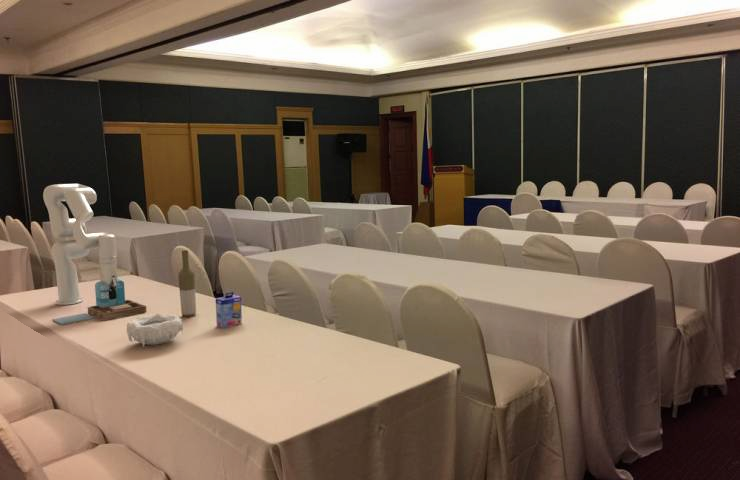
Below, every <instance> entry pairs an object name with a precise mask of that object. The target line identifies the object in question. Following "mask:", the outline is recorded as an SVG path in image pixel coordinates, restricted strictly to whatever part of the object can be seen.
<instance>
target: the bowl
mask: <svg viewBox="0 0 740 480" xmlns="http://www.w3.org/2000/svg"><path fill="white" fill-rule="evenodd" d="M183 330H184V325H183V319H182V318H179V317H178V315H174V314H173V313H170V314H162V313H156V314H152V315H149V316H141V317H140V316H137V317H136V318H134V319H132V320H131V321H129V322H128V323H127V324H126V333H127V337H128V340H129V342H131V343H133V340H134V341H135V342H138V343H139V344H141V345H142V347H143V348H145V345H149V346H150V345H152V346H155V345H158V346H159V345H161V344H165V343H168V342H170V341H172V340H173V339H174V338H175V337H177V335H178V334H179V333H180V332H183Z"/></svg>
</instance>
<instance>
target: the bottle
mask: <svg viewBox="0 0 740 480" xmlns="http://www.w3.org/2000/svg"><path fill="white" fill-rule="evenodd" d="M181 258H182V268H181V269H180V270H179V272H178V273H177V274H178V275H177V276H178V278H177V279H178V287H179V298H180V310H181V316H182V317H185V318H190V316H191V317H195V316H196V314H197V302H196V300H197V298H196V281H195V280H196V278H195V276H196V275H195V271H194V270H193V269H192V268H190V265H189V250H187V249H185V250H181Z"/></svg>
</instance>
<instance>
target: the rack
mask: <svg viewBox="0 0 740 480" xmlns="http://www.w3.org/2000/svg"><path fill="white" fill-rule="evenodd" d="M125 304H128V305H130V306H132V308H130V309H125V310H120V311H114V312H109V313H106V312H107V311H110V308H109V307H105V308H100V307H98V306H97V305H96V304H95V305H92V306H87V314H88V315H90V316H92V317H94V318H97V319H100V320H101V321H108V320H112V319H113V320H114V319H119V318H123V317H128V316H134V315H138V314H143V313H147V312H148V311H147V305H146V304H142V303H139V302H138V301H133V300H132V299H125V303H124V304H121V305H125ZM116 306H120V305H116ZM110 307H114V306H110Z"/></svg>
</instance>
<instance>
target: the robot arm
mask: <svg viewBox="0 0 740 480" xmlns="http://www.w3.org/2000/svg"><path fill="white" fill-rule="evenodd" d="M42 195H43V196H42V198H43V201H44V204H45V206H46V208H47V211H48V215H49V216H48V217H49V222H50V227H51V232H52V235H53V237H54V238H56V239H66V238H68V240H62V241H57V242H55V243H54V244H53V245H52V247H51V254H52V258H53V261H54V267H55V275H56V284H57V295H58V296H57V297H58V299H57V300H56V301H55V304H56V305H57V306H68V305H75V304H80V303H82V302H83V301H84V298H83V297H80V289H79V277H78V269H77V265H76V264H75V262H74V261H73V259H78V258H84V257H86V256H88V255H89V253H90V251H91V250H95V249H98V258H99V282H101V281H102V282H104V283H105V285H107V286H108V285H109V299H110V300H111V299H116V287H117V283H118V269H117V264H118V257H117V242H116V235H114V234H112V233H107V232H104V231H102V232H99V231H98V232H92V233H88V230H87V226H86V224H85V223H87V222H88V221H90V220H92V218H93V217H94V212H93V211H94V210H92V208H91V206H90V205H93V204H95V203H96V202H97V200H98V199H97V197H98V196H97V193H96V191H95V190H94V188H91V187H90V186H87V185H83V184H81V183H58V184H51V185H48V186H46V187H45V188H44V190H43V194H42ZM62 202H65V203H66V204H67V206H68V208H69V211H70V212H71V214H72V216H73V217H72V218H70V217H69V211H68V208H67V207H66V206H65V204H63V203H62ZM69 238H73V239H69ZM111 283H113V284H111ZM110 284H111V285H110ZM111 286H112V287H111Z"/></svg>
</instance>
